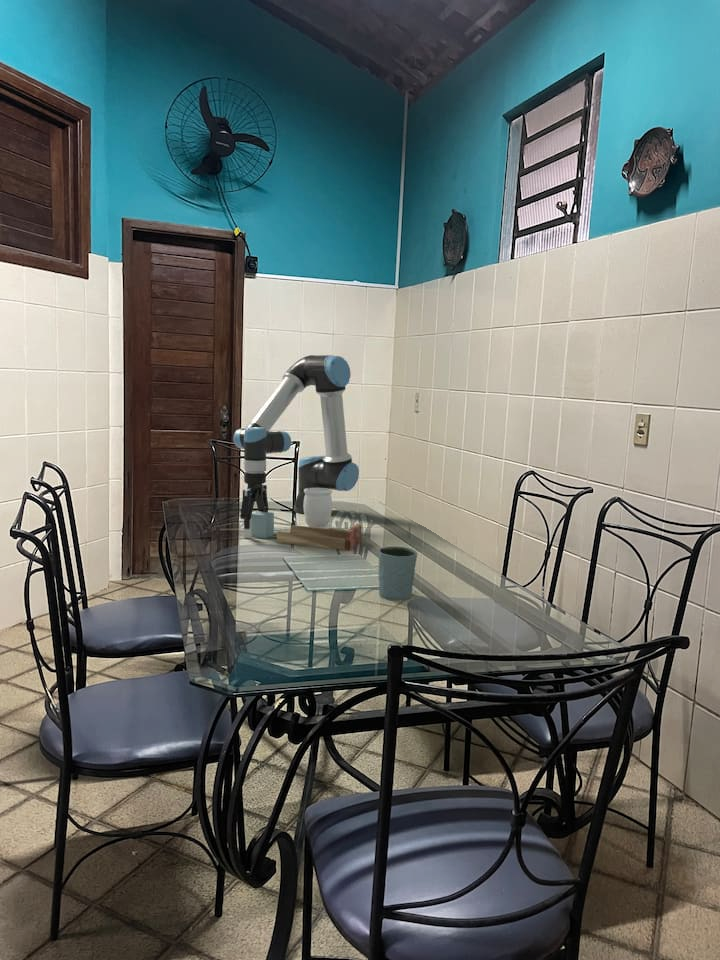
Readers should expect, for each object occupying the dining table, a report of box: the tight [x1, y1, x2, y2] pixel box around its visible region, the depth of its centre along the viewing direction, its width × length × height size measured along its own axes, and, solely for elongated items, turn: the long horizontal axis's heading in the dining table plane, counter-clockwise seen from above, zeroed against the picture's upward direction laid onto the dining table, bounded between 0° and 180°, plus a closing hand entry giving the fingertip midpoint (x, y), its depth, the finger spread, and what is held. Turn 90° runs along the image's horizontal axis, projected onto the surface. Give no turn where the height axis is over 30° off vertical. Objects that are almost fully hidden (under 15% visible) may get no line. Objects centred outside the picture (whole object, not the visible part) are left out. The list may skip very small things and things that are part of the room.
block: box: [251, 511, 275, 539], centre depth 243 cm, size 6×6×8 cm
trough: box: [276, 524, 362, 551], centre depth 236 cm, size 12×26×6 cm, turn 71°
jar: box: [303, 488, 333, 529], centre depth 255 cm, size 11×10×15 cm
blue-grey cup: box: [378, 546, 418, 601], centre depth 181 cm, size 10×10×12 cm
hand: (254, 534), depth 244 cm, fingers open, 9 cm apart
